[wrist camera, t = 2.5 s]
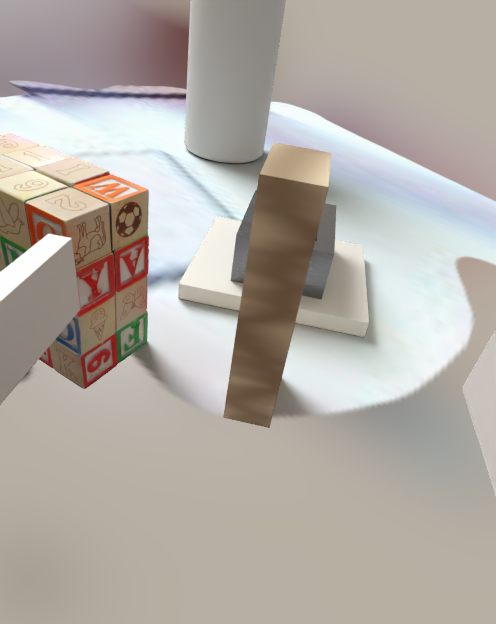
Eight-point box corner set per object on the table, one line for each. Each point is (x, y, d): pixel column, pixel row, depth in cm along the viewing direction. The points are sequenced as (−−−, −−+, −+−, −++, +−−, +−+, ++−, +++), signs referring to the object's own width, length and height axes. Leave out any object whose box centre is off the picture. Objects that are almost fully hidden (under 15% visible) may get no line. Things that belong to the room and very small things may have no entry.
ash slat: (223, 417, 29) (259, 173, 19) (238, 365, 33) (274, 142, 23) (269, 427, 29) (328, 187, 19) (278, 374, 33) (331, 152, 23)
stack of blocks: (-103, 270, 37) (-166, 111, 29) (-29, 243, 41) (-68, 99, 34) (86, 391, 29) (64, 218, 22) (150, 342, 34) (150, 185, 26)
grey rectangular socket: (230, 280, 39) (236, 234, 36) (249, 231, 47) (255, 190, 44) (321, 299, 38) (334, 253, 36) (325, 246, 46) (335, 205, 44)
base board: (178, 298, 38) (179, 283, 38) (215, 228, 50) (216, 216, 49) (363, 337, 37) (369, 323, 37) (359, 257, 49) (363, 245, 48)
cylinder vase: (226, 170, 65) (249, -51, 50) (167, 145, 70) (172, -61, 55) (277, 156, 73) (310, -37, 58) (221, 134, 79) (237, -47, 64)
